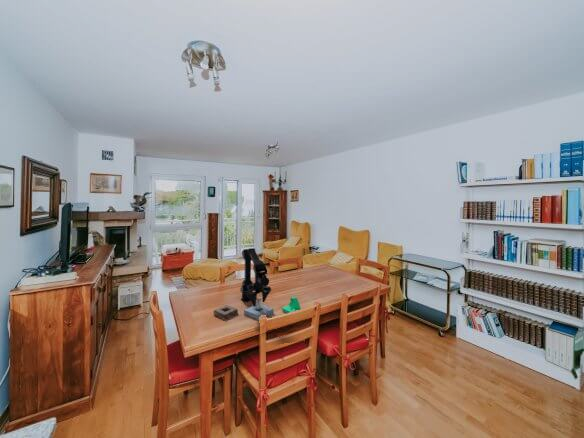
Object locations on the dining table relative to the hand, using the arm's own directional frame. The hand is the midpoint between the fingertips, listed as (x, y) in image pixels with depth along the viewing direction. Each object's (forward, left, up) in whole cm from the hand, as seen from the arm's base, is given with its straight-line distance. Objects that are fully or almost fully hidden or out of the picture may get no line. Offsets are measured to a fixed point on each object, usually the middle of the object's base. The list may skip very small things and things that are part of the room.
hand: (258, 304), depth 169 cm
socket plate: (0, 0, -6) cm, 6 cm away
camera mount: (-15, +16, -7) cm, 23 cm away
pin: (0, 0, -6) cm, 7 cm away
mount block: (+14, -17, -6) cm, 23 cm away
